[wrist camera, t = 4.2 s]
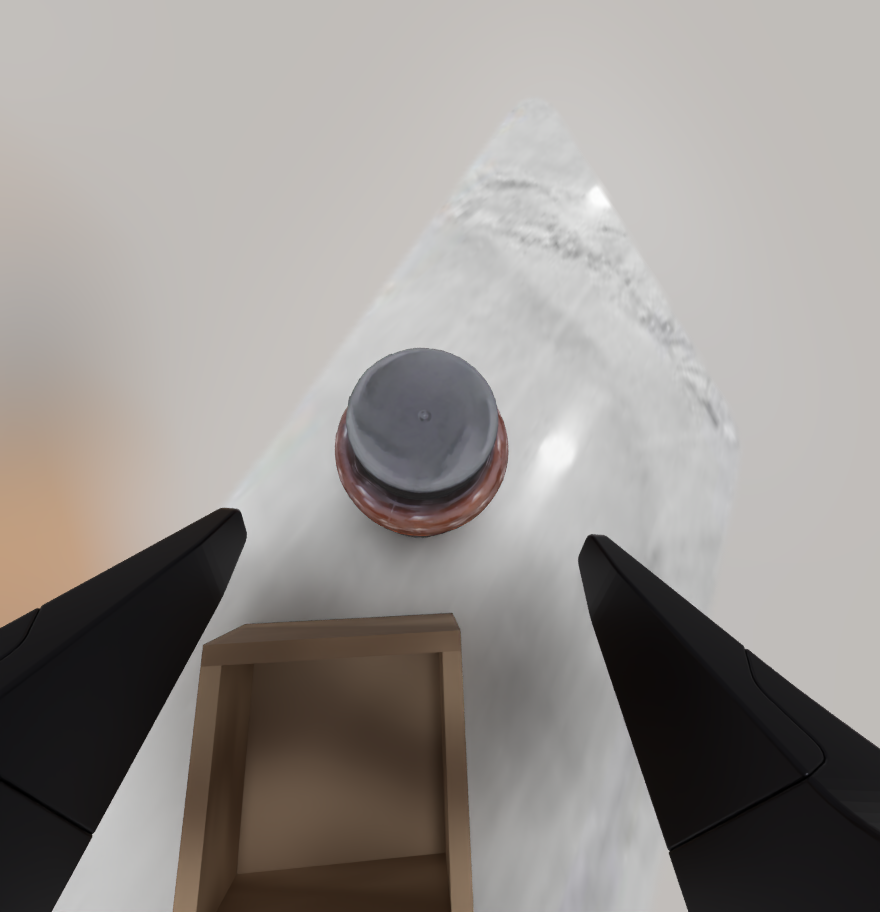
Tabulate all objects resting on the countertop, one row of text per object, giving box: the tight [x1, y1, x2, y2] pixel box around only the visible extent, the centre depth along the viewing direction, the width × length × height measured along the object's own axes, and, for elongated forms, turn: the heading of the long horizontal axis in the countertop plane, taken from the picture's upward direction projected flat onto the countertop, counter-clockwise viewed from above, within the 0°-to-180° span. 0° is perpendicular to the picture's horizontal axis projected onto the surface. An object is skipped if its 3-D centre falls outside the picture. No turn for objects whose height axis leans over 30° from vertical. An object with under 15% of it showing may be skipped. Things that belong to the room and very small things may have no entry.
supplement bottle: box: [335, 348, 508, 538], centre depth 14 cm, size 6×6×11 cm
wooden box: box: [173, 613, 473, 912], centre depth 15 cm, size 11×11×4 cm
